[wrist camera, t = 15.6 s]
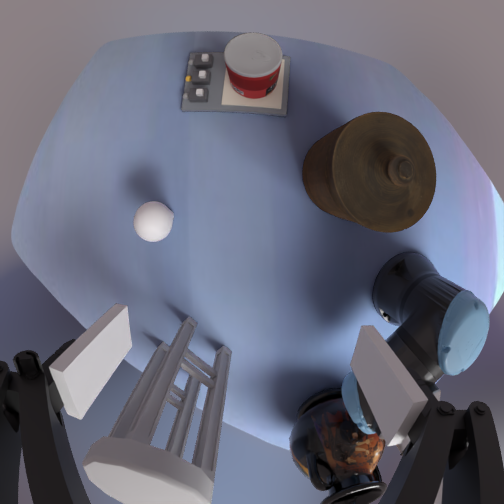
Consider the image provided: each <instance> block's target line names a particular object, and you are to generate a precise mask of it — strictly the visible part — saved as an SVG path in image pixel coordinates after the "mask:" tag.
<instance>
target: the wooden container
mask: <svg viewBox="0 0 504 504" xmlns="http://www.w3.org/2000/svg"><path fill="white" fill-rule="evenodd" d="M302 175H303V182H304V186H305V189H306V192H307V194H308V195H309V197H310V199H311V200H312V201H313V202H314V203H315V204H316V205H317V206H318V207H319V208H320V209H322V210H323V211H325V212H327V213H329V214H332V215H334V216H336V217H339V218H342V219H345V220H348V221H352V222H355V223H358V224H359V225H362V226H364V227H366V228H369V229H372V230H375V231H379V232H398V231H402V230H404V229H407V228H409V227H411V226H412V225H414V224H415V223H416V222H418V221H419V220H420V219H421V218H422V217H423V215H424V214H425V213H426V211H427V210H428V208H429V206H430V204H431V202H432V199H433V196H434V193H435V187H436V168H435V162H434V158H433V155H432V152H431V150H430V147H429V145H428V143H427V142H426V140H425V138H424V137H423V135H422V134H421V133H420V132H419V131H418V129H417V128H416V127H415V126H413V125H412V124H411V123H410V122H408V121H407V120H405V119H403V118H402V117H399V116H397V115H394V114H391V113H387V112H371V113H367V114H364V115H361V116H359V117H356V118H354V119H353V120H351V121H349V122H348V123H346V124H344V125H343V126H341V127H339V128H337V129H335V130H333V131H332V132H330V133H329V134H327V135H326V136H324V137H323V138H321V139H320V140H319V141H317V142H316V143H315V144H314V145H313V146H312V147H311V148H310V150H309V151H308V153H307V155H306V157H305V160H304V164H303V171H302Z"/></svg>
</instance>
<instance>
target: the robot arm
mask: <svg viewBox="0 0 504 504" xmlns="http://www.w3.org/2000/svg"><path fill="white" fill-rule="evenodd" d="M373 302H374V306H375V308H376V310H377V312H378V313H379V314H380V316H381V317H382V318H383V319H384V320H385V321H387V322H388V323H390V324H393V325H396V326H399V328H398V329H397V330H396V331H395V332H394V333H393V334H392V335H391V336H389V337H388V338H387V339H386V340H384V339H383V337H382V336H381V335H380V334H379V332H378V331H377V330H376V328H375V327H374V326H361V329H360V333H359V337H358V340H357V344H356V347H355V351H354V354H353V357H352V360H351V364H350V366H351V368H352V371H351V372H350V373H349V374H348V375H347V376H346V377H345V378H344V380H343V383H342V397H343V401H344V404H345V407H346V409H347V411H348V413H349V415H350V417H351V419H352V420H353V422H354V423H357V426H358V428H359V429H360V430H361V431H362V432H364V433H366V434H374V433H377V435H378V436H379V438H380V439H384V440H385V442H386V444H387V446H392V445H396V446H397V447H398V449H399V450H400V452H401V454H400V455H403V456H402V459H401V461H400V463H399V465H398V467H397V470H396V471H395V474H394V476H393V478H392V480H391V482H390V483H389V485H388V487H387V489H386V491H385V493H384V495H383V497H382V498H381V500H380V502H379V503H378V504H504V468H503V462H502V456H501V451H500V447H499V441H498V437H497V433H496V429H495V425H494V421H493V417H492V414H491V411H490V408H489V407H488V406H487V405H486V404H485V403H483V402H479V401H474V402H472V403H471V404H470V406H469V407H468V409H467V410H456V409H455V407H454V406H453V405H452V404H450V403H448V402H445V401H440V394H441V391H440V390H439V388H438V387H437V386H436V385H435V382H437V381H438V379H440V378H441V377H442V376H443V375H444V374H448V375H457V374H459V373H460V371H462V372H463V371H464V370H466V369H467V368H468V367H469V366H470V365H471V364H472V363H473V362H474V361H475V359H476V358H477V356H478V355H479V353H480V352H481V350H482V348H483V346H484V343H485V340H486V338H487V333H488V329H489V313H488V310H487V307H486V305H485V304H484V303H483V302H482V301H481V300H480V299H478V298H477V297H476V296H475V295H474V294H473V293H472V292H471V291H468V290H465V289H464V288H462V287H460V286H458V285H456V284H455V283H453V282H451V281H449V280H448V279H446V278H444V277H442V276H440V274H439V273H438V271H437V270H436V269H435V267H434V265H433V264H432V263H431V262H430V261H429V260H428V259H427V258H426V257H424V256H422V255H420V254H417V253H413V252H406V253H402V254H399V255H397V256H395V257H393V258H392V259H391V260H389V261H388V262H387V263H386V264H385V265H384V267H383V268H382V269H381V271H380V272H379V274H378V276H377V278H376V281H375V284H374V288H373ZM131 347H132V342H131V334H130V326H129V317H128V307H127V305H121V304H115V305H114V306H113V307H111V308H110V309H109V310H108V311H107V312H106V313H105V314H104V315H103V316H102V317H100V318H99V319H98V320H97V321H96V322H95V323H94V324H93V325H92V326H91V327H90V328H89V329H88V330H86V332H84V333H83V334H82V335H81V336H80V337H79V338H78V339H77V340H75V339H72V340H70V341H68V342H66V343H64V344H63V345H62V346H61V347H60V348H59V349H58V350H57V351H56V352H55V354H53V355H52V356H51V357H49V358H48V359H47V360H46V361H45V362H44V363H43V364H42V365H41V362H40V359H39V356H38V354H37V353H36V352H34V351H31V350H26V351H22V352H20V353H18V354H17V355H15V357H14V359H13V362H14V365H15V367H16V370H17V372H18V373H17V372H12V371H10V370H9V367H8V365H7V363H6V362H3V361H0V504H18V481H19V465H20V456H21V448H22V449H23V456H24V463H25V468H26V474H27V478H28V483H29V488H30V492H31V496H32V499H33V503H34V504H91V503H90V501H89V498H88V496H87V494H86V491H85V489H84V486H83V484H82V481H81V478H80V476H79V473H78V470H77V467H76V464H75V461H74V458H73V455H72V451H71V448H70V445H69V441H68V437H67V433H66V429H65V425H64V421H63V416H62V414H61V411H60V410H61V408H62V407H63V406H64V407H65V409H66V411H67V413H68V414H69V415H71V416H73V417H76V418H78V419H80V420H81V419H82V418H83V416H84V415H85V413H86V412H87V410H88V409H89V407H90V406H91V404H92V403H93V401H94V400H95V398H96V397H97V395H98V394H99V393H100V391H101V390H102V388H103V387H104V385H105V384H106V382H107V381H108V380H109V378H110V376H111V375H112V374H113V372H114V371H115V370H116V368H117V367H118V365H119V364H120V363H121V361H122V360H123V358H124V357H125V356H126V354H127V353H128V351H129V350H130V349H131Z"/></svg>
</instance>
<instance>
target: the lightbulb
mask: <svg viewBox="0 0 504 504" xmlns="http://www.w3.org/2000/svg"><path fill="white" fill-rule="evenodd" d="M173 219H174V214H173V212H172V211H171V210H169V209H168V207H167V206H165V205H164V204H162V203H160V202H156V201H151V202H147V203H145V204H143V205H142V206H140V207H139V208H138V210H137V211H136V213H135V216H134V228H135V231H136V233H137V234H138V235H139V236H140V237H141V238H142V239H144V240H146V241H149V242H156V241H160V240H162V239H164V238H165V237H166V236H167V235H168V234H169V232H170V231H171V228H172V225H173Z"/></svg>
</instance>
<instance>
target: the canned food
mask: <svg viewBox="0 0 504 504" xmlns="http://www.w3.org/2000/svg"><path fill="white" fill-rule="evenodd" d="M224 60H225V64H226V68H227V72H228V76H229V79H230V83H231V86H232V88H233V89H234V90H235V91H236V92H237V93H238V94H240V95H241V96H244V97H246V98H251V99H258V98H262V97H265V96H267V95H269V94H270V93H272V92H273V90H274V89H275V87H276V85H277V81H278V77H279V72H280V68H281V63H282V50H281V48H280V46H279V44H278V43H277V42H276V41H275V40H274V39H272V38H271V37H269V36H267V35H264V34H261V33H244V34H241V35H238V36H236V37H234V38H233V39H231V40H230V41H229V42H228V44H227V45H226V47H225V50H224Z"/></svg>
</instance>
